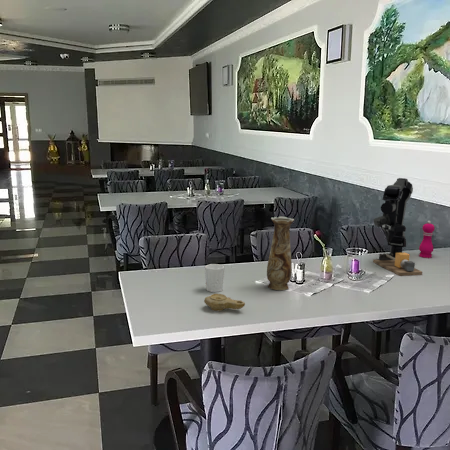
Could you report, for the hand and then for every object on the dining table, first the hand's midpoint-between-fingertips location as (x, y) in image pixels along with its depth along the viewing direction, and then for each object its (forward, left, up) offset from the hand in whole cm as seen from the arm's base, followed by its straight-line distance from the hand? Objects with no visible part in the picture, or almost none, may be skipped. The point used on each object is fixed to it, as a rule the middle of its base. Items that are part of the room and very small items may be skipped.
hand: (388, 242), depth 243 cm
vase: (+24, -66, -12) cm, 71 cm away
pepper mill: (-12, +31, -12) cm, 35 cm away
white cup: (+23, -94, -12) cm, 98 cm away
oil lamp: (+45, -95, -12) cm, 106 cm away
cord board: (+6, +2, -12) cm, 14 cm away
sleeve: (+10, +2, -10) cm, 14 cm away
